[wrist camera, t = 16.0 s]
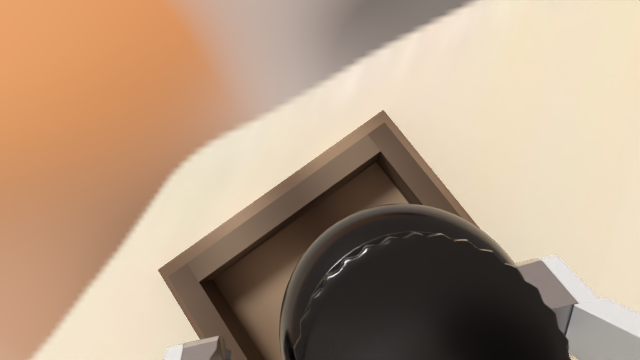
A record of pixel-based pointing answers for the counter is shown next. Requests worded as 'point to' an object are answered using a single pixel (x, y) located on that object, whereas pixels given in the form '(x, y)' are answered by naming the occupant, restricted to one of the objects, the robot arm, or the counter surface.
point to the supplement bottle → (413, 294)
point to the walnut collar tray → (294, 234)
